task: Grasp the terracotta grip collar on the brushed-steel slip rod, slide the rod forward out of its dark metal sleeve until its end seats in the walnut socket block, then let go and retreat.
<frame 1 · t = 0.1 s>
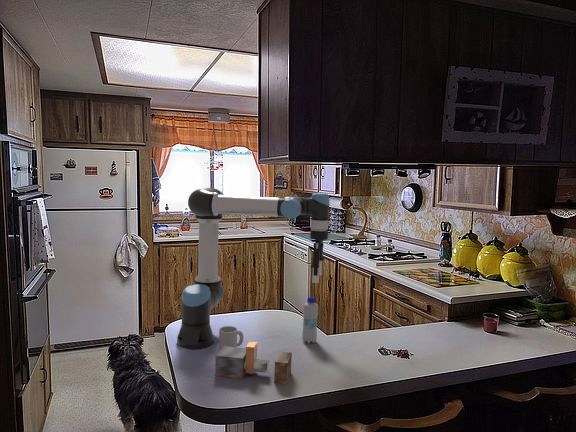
hand: (317, 279, 185), 28 cm above the worktop, fingers open, 13 cm apart
sleeve and socket: (253, 374, 156), on the worktop
bottle: (309, 342, 188), on the worktop
cup: (231, 350, 176), on the worktop
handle: (243, 356, 156), point 6 cm above the worktop, slide at 0.0 cm
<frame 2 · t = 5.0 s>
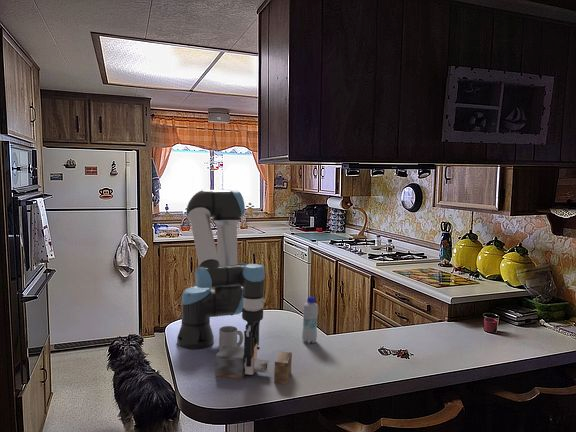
hand: (251, 370, 156), 1 cm above the worktop, fingers closed on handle, 5 cm apart
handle: (243, 356, 156), point 6 cm above the worktop, slide at 0.0 cm, touching gripper
everything else where it was.
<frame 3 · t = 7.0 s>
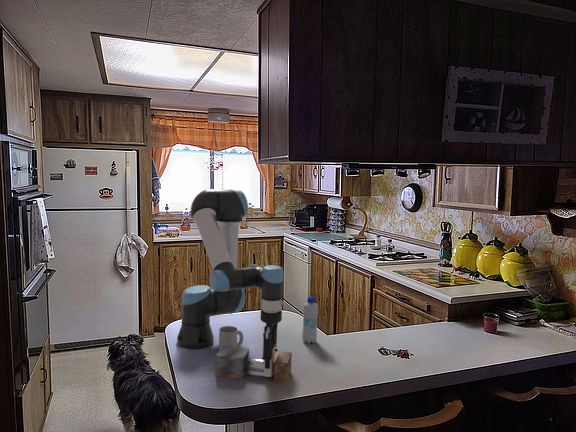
hand: (269, 372, 155), 1 cm above the worktop, fingers closed on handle, 5 cm apart
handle: (261, 358, 155), point 6 cm above the worktop, slide at 6.7 cm, touching gripper
everything else where it was.
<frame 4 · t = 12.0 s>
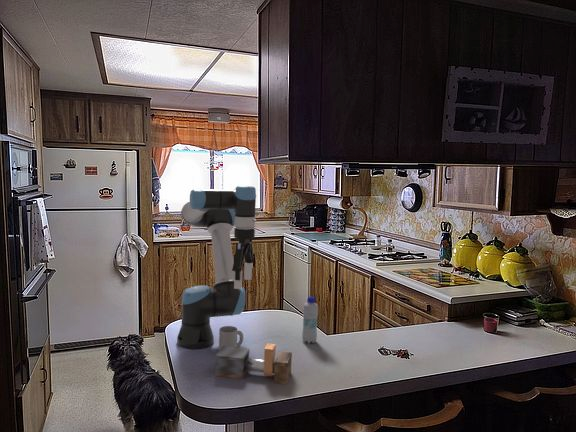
hand: (243, 284, 162), 31 cm above the worktop, fingers open, 13 cm apart
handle: (261, 358, 155), point 6 cm above the worktop, slide at 6.8 cm
everything else where it was.
at the end: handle slide at 6.8 cm; the gripper is holding nothing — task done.
